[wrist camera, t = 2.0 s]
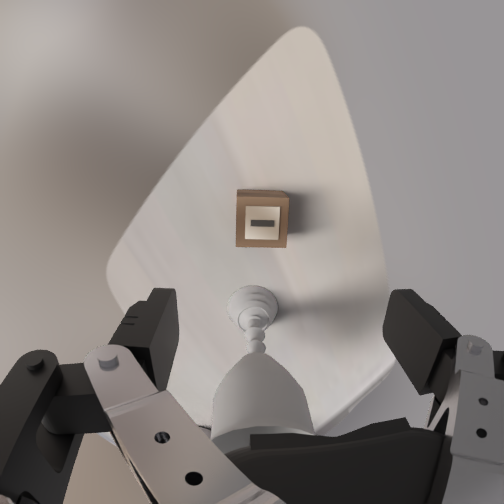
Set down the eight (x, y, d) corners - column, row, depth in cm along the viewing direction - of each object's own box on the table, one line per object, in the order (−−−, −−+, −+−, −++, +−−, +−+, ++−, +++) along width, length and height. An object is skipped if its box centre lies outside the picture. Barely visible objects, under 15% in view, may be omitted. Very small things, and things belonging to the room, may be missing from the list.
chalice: (301, 309, 32) (352, 456, 14) (253, 348, 33) (264, 498, 16) (251, 261, 30) (266, 405, 13) (202, 306, 31) (173, 459, 14)
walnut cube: (280, 234, 29) (286, 248, 25) (236, 233, 29) (235, 247, 25) (282, 190, 28) (289, 198, 24) (237, 189, 28) (236, 196, 23)
